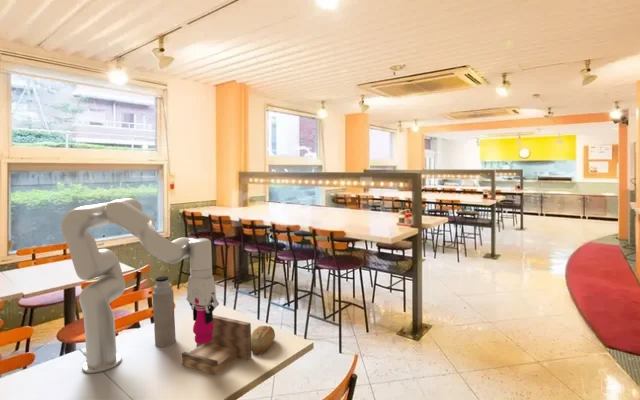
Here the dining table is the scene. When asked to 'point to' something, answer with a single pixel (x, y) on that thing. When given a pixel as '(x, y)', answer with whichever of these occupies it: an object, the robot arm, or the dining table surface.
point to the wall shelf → (221, 346)
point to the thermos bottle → (163, 312)
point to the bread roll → (262, 339)
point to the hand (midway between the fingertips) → (203, 320)
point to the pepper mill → (202, 325)
